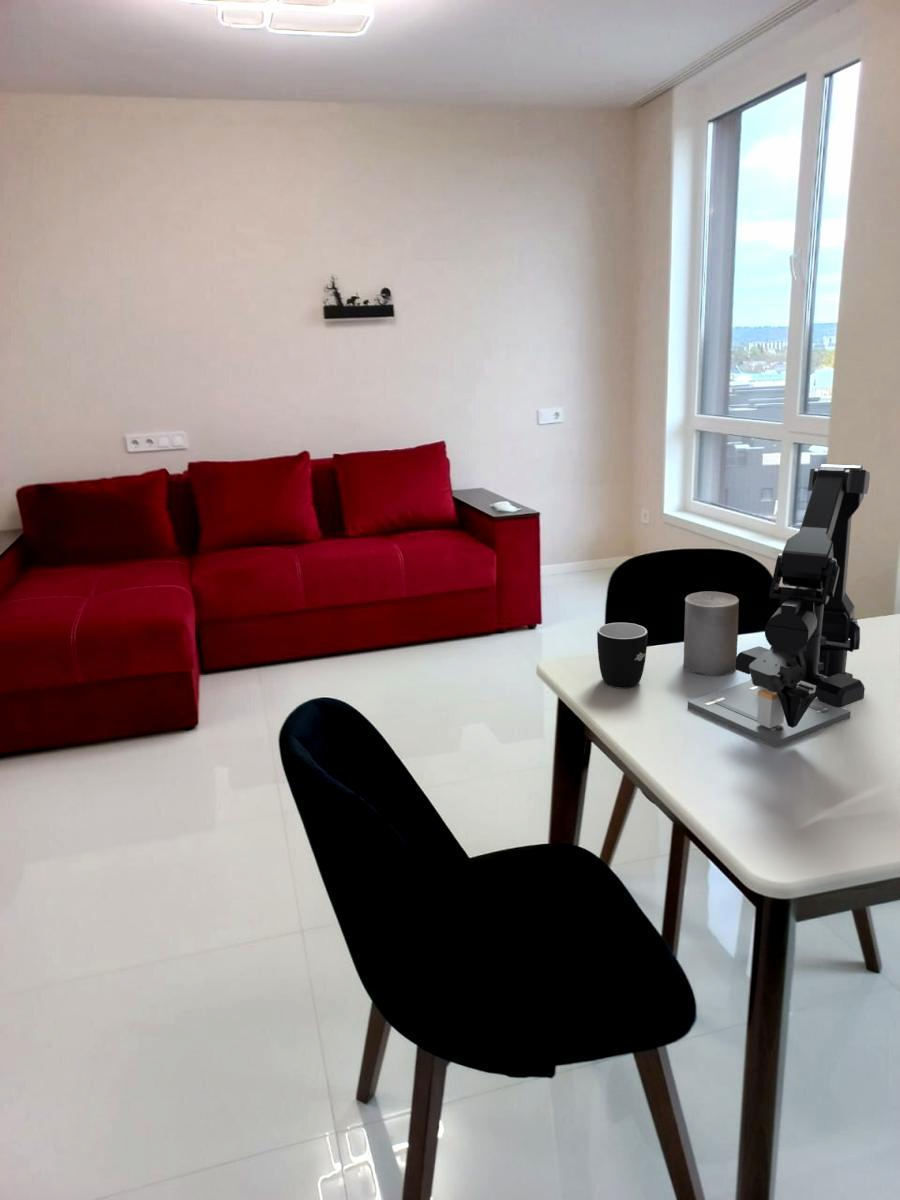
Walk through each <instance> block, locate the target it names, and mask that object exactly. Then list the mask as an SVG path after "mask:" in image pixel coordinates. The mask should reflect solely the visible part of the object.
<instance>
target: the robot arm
mask: <svg viewBox="0 0 900 1200" xmlns="http://www.w3.org/2000/svg"><path fill="white" fill-rule="evenodd" d="M870 475H871V474H870V471H867V469H864V468H863V465H862V464H844V463H843V464H842V463H841V464H840V463H838V464H837V463H822V464H821V466H820V467H819V468H818V467H815V468H810V469H809V478H808V485H807V491H808V492H810V496H809V500H808V503H807V507H806V509H805V512H804V516H803V520H802V522H801V525H800V529H799V531H798V532H797V533H796V534H794V535H791V537H789V538H788V539H787V540H786V543H785V545H784V548H783V550H782V553H778V555H777V558H776V562H775V566H774V571H773V574H772V575H773V576H772V580H771V584H770V589H769V595H768V598H770V599H777V600H779V604H778V608H777V610H776V611H775V612H774V614H773V615H771V616H770V618H769V619H768V621H767V623H766V625H765V627H764V636H765V638H766V642H767V643H768V644H769V645H770V648H769V649H768V648H766V647H763V646H760V645H759V646H755V647H751V648H749V649H745V650H742V651H740V652H739V653H737V657H736V660H735V670H734V671H738V672H740V673H744V674H746V675H750V677H751V680H752V683H753V684H754V685H755V686H761V687H763V688H766V689H768V690H769V691H771V692H776V693H777V695H778V697H779V700H780V702H781V705H782V708H783V712H784V715H785V718H786V721H787V725H788V726H789V727H792V728H793V727H796V726H797V724H798V723H799V721H800V720H801V718H802V717H803V715H804V713H805V712H806V710H807V709H808V707H809V706H810V704H811V703H812V701H813V700H814V699H815V698H817V699H818V700H819V701H820V702H823V703H826V704H828V705H831V706H834V707H841V708H844V707H846V706H849V705H851V704H853V703H856V702H859V701H862V700H863V699H864V698H865V690H866V688H865V685H864V683H863V682H862V681H861V679H858V678H854V675H853V673H850V672H847V671H846V668H847V667H846V666H847V659H848V658H847V656H848V652H849V653H853V652H854V651H856V650H859V649H860V644H861V627H860V625H859V623H858V619H857V618H855V605H854V603H853V602H852V600H851V599H850V597H849V596H848V594H847V589H846V588H847V578H848V577H847V576H848V567H849V554H850V553H849V552H850V551H849V550H850V541H851V529H852V528H851V527H852V518H853V515H854V514H855V512H856V511H857V510H858V509H859V508H860V506H861V504H862V502H863V500H864V496H865V495H867V494H868V490H869V487H870V479H871V478H870V477H871V476H870ZM781 580H782V582H781ZM781 583H782V584H783V586H780V584H781Z"/></svg>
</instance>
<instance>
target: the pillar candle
mask: <svg viewBox="0 0 900 1200" xmlns="http://www.w3.org/2000/svg"><path fill="white" fill-rule="evenodd" d="M684 602H685V603H684V631H683V632H684V634H683V635H684V636H683V667H684V668H685V669H686V670H687V671H688V672H691V673H694V674H695V673H696V674H702V675H707V676H724V675H728V674H731V673H733V672H734V671H736V670H735V660H736V657H737V655H738V637H739V636H738V635H739V634H738V633H739V632H738V631H739V613H740V612H739V611H740V610H739V609H740V608H739V606H740V605H739V603H740V599H739V598H738V597H737V596H736V595H733V594H731V593H727V592H723V591H722V592H721V591H709V590H708V591H706V590H705V591H698V592H693V593H692V592H691V593H690V594H688V595H686V597H685V598H684Z"/></svg>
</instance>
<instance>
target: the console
mask: <svg viewBox="0 0 900 1200" xmlns="http://www.w3.org/2000/svg"><path fill="white" fill-rule="evenodd" d="M759 690H761V689H758V686H755V685H754V684H753V683H752V679H750V680H747V681H745V682H741V683H739V684H734V685H733V686H729V687H726V688H723V689H721V690H718V691H715V692H712V693H708V694H705V695H703V696H700V697H697V698H694V699H691V700H688V701H687V708H688V709H690V710H692V711H694V712H696V713H698V714H701V715H703V716H704V717H707V718H709V719H712V720H714V721H716V722H718V723H720V724H723V725H725V726H727V727H729V728H731V729H733V730H736V731H737V732H740V733H742V734H743V735H747V736H748V737H751V738H753V739H755V740H756V741H757V740H758V741H760V742H762V743H764V744H766V745H769V746H770V747H773V748H775V749H778V748H779V747H782V746H785V745H788V744H789V743H792V742H794V741H797V740H799V739H802V738H805V737H806V736H810V735H812V734H815V733H817V732H819V731H822V730H824V729H827V728H829V727H832V726H834V725H837V724H839V723H842V722H843V721H844V722H845V721H846V720H849V719H850V718H851V716H852V715H851V714H852V711H851V710H848V709H846V708H844V707H842V708H841V707H834V706H831V705H828V704H826V703H823V702H820V701H819V700H818V698H817V697H816V698H815V699H814V700H813V701H812V703H811V704H810V706H809V707H808V709H807V710H806V712H805V713H804V715H803V717H802V718H801V720H800V721H799V723H798V724H797V726H796V727H793V728H792V727H789V726H788V725H787V721H786V718H785V715H784V720H783V723H782V724H780V725H777V726H775V727H772V728H767V727H765V726H763V725H761V724H758V723H757V716H758V702H759Z"/></svg>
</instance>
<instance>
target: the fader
mask: <svg viewBox="0 0 900 1200" xmlns="http://www.w3.org/2000/svg"><path fill="white" fill-rule="evenodd" d="M783 720H784V712H783V708H782V705H781V702H780V700H779V697H778V695H777V693H776V692H771V691H769V690H768V689H766V688H764V689H761V690H759V702H758V716H757V723H758V724H761V725H763V726H765V727H767V728H772V727H775V726H777V725H780V724H782V723H783Z"/></svg>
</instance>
